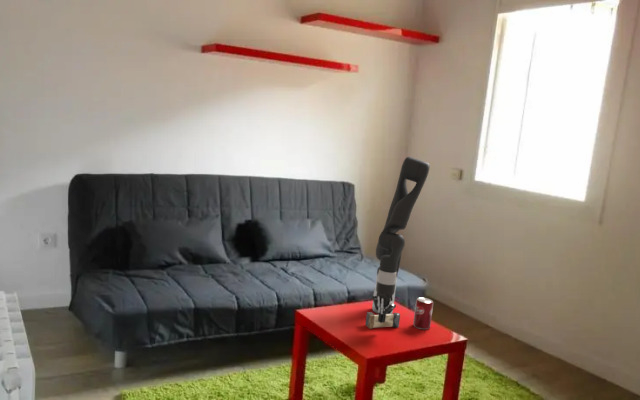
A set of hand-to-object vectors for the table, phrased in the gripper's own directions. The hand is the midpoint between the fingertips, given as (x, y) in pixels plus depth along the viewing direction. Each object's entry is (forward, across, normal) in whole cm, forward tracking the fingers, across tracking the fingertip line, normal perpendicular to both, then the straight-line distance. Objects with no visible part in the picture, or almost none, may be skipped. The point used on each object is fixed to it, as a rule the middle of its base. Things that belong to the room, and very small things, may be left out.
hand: (381, 321), depth 231 cm
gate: (+4, +5, -4) cm, 7 cm away
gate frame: (+5, +5, -6) cm, 9 cm away
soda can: (+5, 0, -23) cm, 23 cm away
